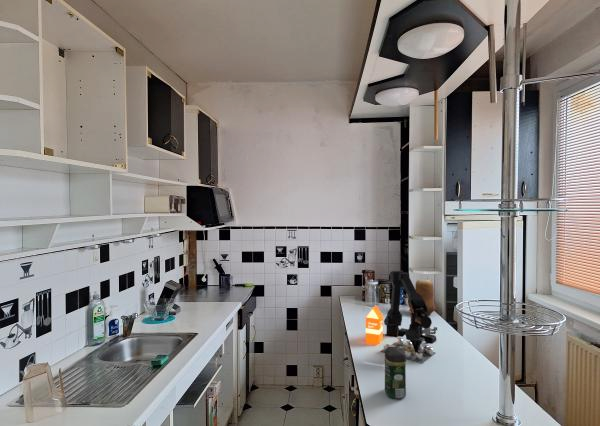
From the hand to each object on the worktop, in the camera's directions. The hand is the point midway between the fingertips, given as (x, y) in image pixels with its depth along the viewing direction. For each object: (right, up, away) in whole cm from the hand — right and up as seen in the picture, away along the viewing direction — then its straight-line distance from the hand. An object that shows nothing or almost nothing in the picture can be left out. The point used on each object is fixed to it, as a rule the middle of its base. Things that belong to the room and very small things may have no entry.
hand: (416, 352), depth 195 cm
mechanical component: (+11, -2, +16) cm, 19 cm away
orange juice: (-18, -1, +19) cm, 26 cm away
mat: (-4, -2, +3) cm, 5 cm away
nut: (-3, -1, +2) cm, 4 cm away
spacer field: (-4, -2, +3) cm, 5 cm away
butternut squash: (+27, 0, +70) cm, 75 cm away
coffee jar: (-21, -3, -39) cm, 44 cm away
